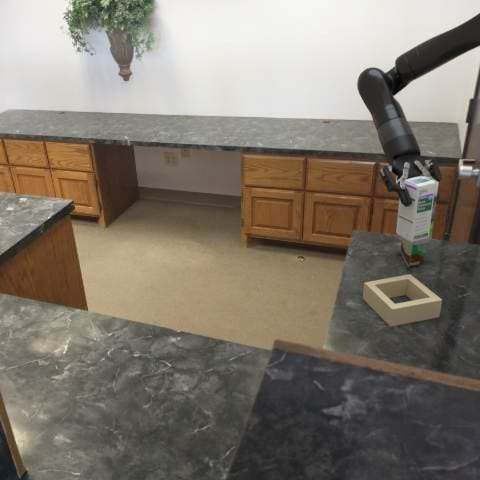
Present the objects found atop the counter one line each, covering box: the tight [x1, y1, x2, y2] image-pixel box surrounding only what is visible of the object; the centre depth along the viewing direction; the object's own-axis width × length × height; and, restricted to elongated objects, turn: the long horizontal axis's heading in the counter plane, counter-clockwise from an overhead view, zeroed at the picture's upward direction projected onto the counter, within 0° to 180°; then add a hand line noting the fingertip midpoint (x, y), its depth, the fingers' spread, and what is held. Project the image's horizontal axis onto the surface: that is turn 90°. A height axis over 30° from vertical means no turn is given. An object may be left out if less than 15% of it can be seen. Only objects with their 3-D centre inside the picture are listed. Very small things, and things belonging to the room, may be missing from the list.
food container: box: [399, 236, 433, 269], centre depth 144 cm, size 12×6×10 cm, turn 171°
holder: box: [362, 273, 443, 328], centre depth 126 cm, size 13×13×5 cm
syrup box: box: [395, 174, 440, 242], centre depth 121 cm, size 6×6×14 cm
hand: (422, 202), depth 119 cm, fingers closed on syrup box, 6 cm apart
